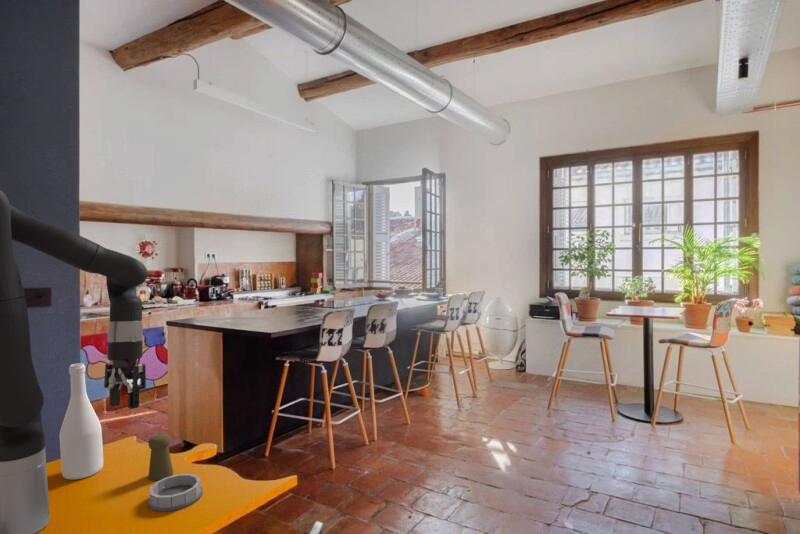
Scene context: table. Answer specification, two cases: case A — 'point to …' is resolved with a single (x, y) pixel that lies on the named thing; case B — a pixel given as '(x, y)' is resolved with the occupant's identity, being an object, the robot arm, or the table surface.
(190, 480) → the small gray bowl
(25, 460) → the robot arm
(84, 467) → the wine bottle
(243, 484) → the table surface
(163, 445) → the cork
